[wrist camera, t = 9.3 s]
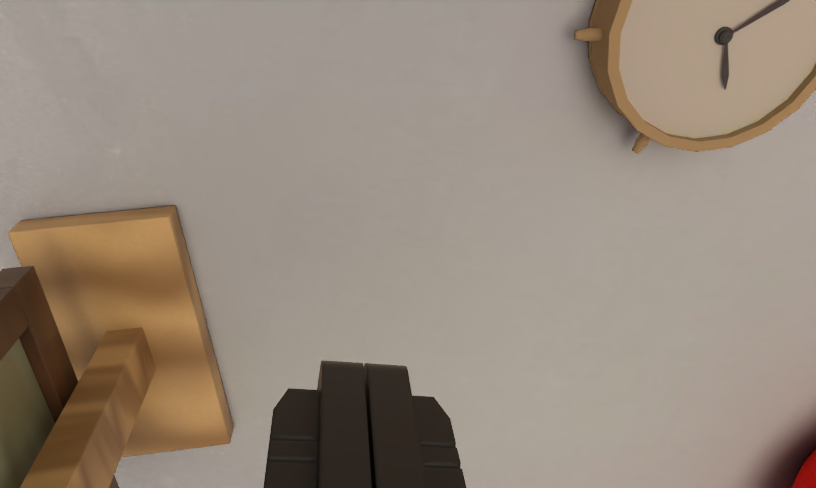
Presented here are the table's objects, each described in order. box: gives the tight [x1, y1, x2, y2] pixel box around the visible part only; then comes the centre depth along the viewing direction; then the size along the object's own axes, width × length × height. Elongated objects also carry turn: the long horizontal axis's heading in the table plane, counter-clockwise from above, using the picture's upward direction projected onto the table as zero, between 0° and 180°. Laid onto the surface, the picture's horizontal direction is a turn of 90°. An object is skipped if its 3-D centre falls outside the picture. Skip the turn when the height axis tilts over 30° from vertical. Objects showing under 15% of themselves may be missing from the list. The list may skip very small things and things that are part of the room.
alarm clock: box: [574, 0, 816, 154], centre depth 29 cm, size 11×5×15 cm
